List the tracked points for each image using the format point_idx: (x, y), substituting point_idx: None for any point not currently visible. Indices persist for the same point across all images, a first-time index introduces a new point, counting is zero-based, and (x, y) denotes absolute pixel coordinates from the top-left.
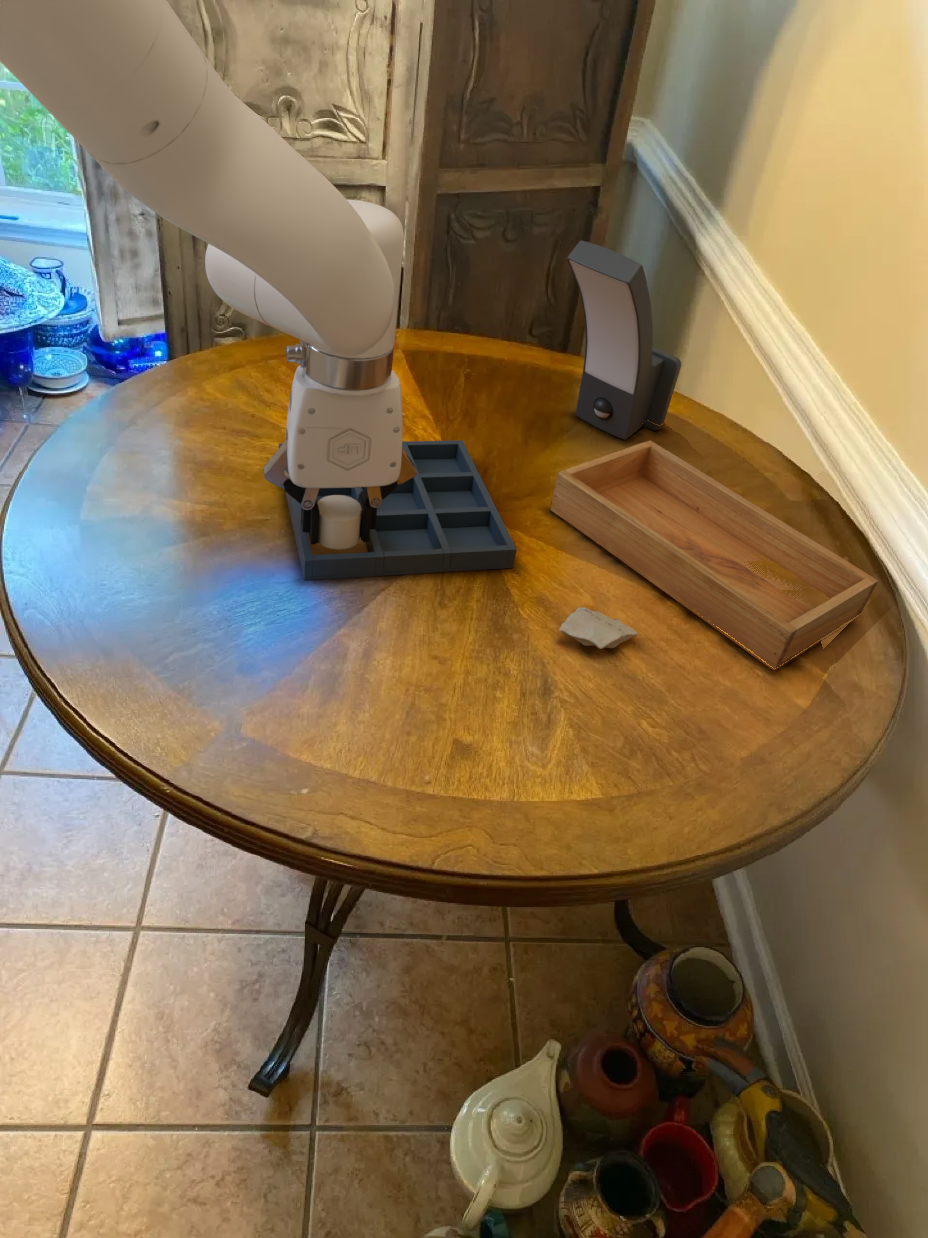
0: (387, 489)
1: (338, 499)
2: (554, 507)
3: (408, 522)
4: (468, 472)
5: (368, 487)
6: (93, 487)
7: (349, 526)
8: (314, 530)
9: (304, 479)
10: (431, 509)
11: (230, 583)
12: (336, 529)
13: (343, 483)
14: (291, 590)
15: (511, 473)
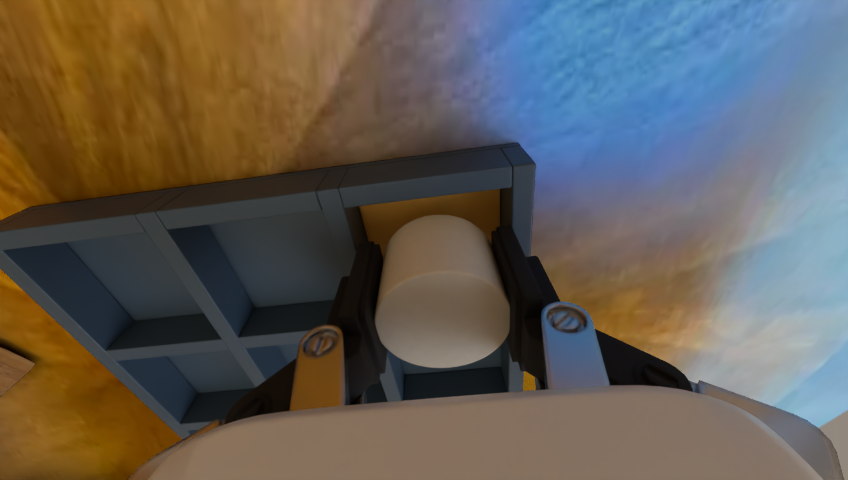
0: (272, 394)
1: (442, 353)
2: (15, 368)
3: (285, 317)
4: (191, 429)
5: (337, 400)
6: (812, 366)
7: (412, 261)
8: (514, 249)
9: (727, 445)
10: (233, 347)
11: (695, 124)
12: (451, 251)
13: (459, 425)
14: (555, 101)
15: (150, 425)
